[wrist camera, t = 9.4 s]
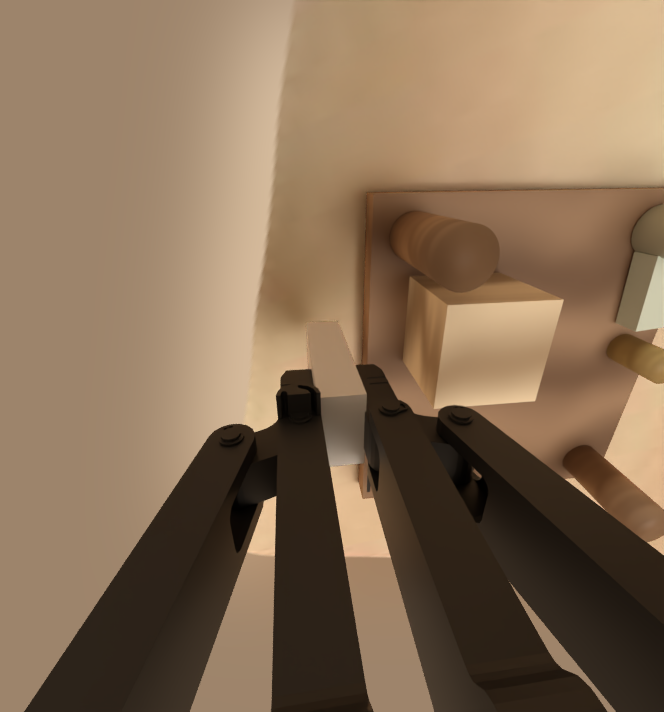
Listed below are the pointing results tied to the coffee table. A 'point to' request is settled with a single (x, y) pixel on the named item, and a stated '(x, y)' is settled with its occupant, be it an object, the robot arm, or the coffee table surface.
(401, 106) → the coffee table surface
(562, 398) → the stool board
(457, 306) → the maple block
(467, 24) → the coffee table surface
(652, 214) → the gate leg
